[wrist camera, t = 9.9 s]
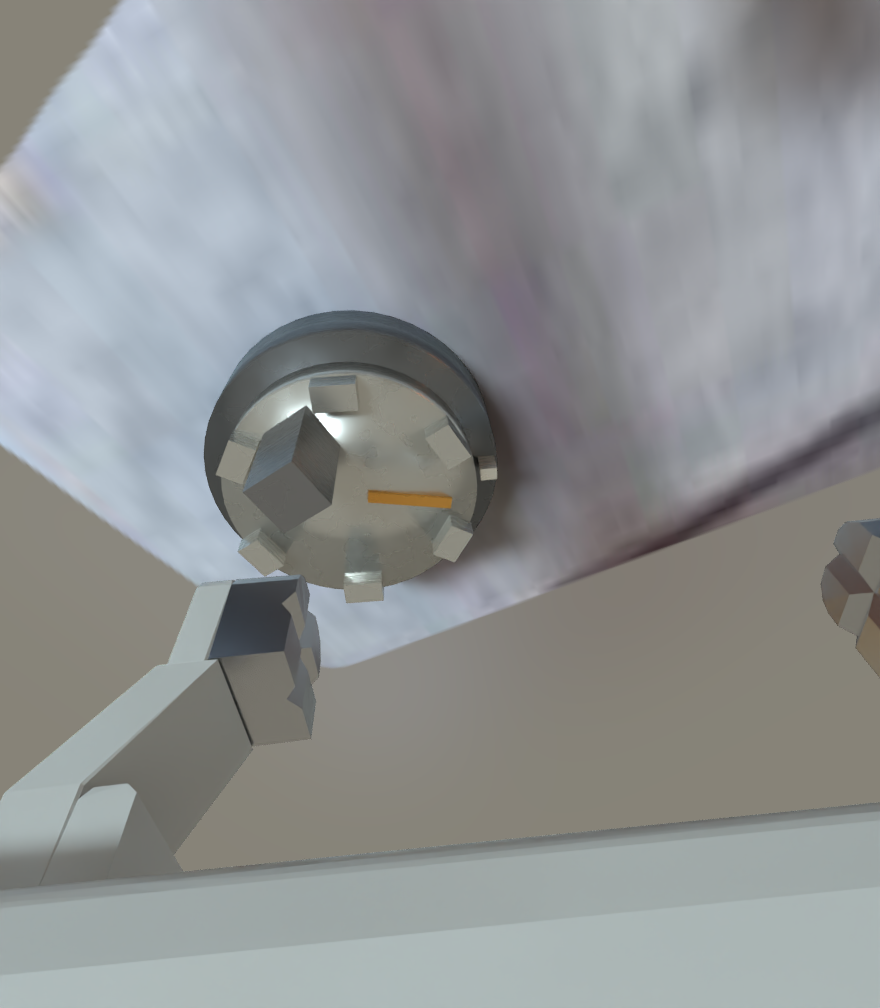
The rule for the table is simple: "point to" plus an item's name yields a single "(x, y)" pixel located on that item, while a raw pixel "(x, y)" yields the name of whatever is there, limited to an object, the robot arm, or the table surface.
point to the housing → (364, 343)
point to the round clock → (349, 479)
